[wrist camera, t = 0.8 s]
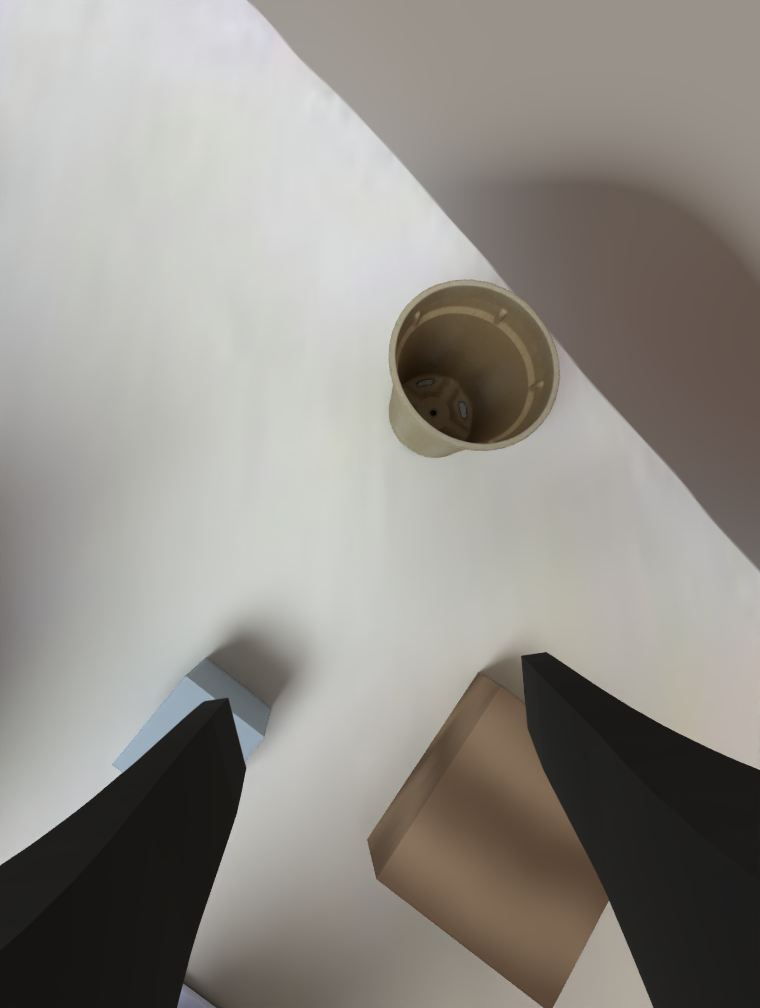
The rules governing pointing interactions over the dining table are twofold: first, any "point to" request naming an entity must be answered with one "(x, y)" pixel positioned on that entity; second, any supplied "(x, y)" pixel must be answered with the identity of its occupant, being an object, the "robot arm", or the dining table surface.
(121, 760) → the slate cube
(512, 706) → the walnut base block
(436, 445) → the flower pot
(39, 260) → the dining table surface
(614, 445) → the dining table surface
